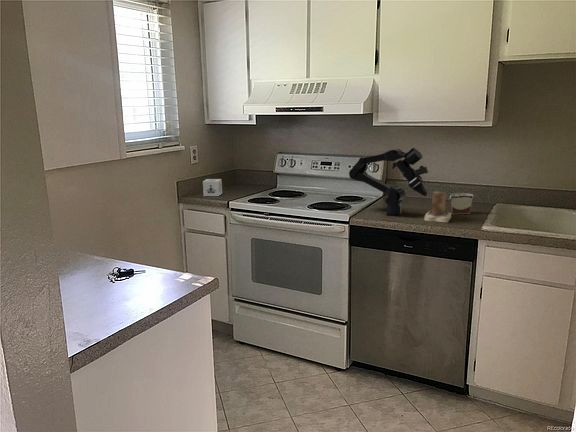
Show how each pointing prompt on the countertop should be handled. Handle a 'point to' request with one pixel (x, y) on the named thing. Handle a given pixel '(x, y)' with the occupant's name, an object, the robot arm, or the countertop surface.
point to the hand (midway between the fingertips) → (426, 194)
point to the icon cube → (212, 187)
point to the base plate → (438, 217)
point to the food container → (461, 203)
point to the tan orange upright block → (438, 202)
